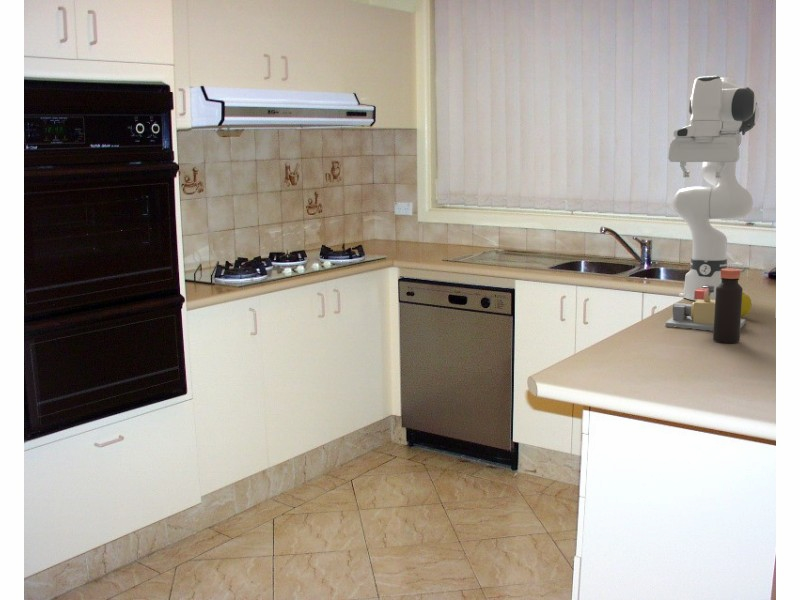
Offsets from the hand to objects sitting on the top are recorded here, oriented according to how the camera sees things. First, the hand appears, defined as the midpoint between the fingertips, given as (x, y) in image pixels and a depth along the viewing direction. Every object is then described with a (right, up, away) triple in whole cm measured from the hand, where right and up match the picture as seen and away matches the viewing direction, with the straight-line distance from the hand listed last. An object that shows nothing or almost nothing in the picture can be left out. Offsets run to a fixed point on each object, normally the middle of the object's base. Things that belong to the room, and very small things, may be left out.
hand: (702, 177), depth 254 cm
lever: (-2, -36, -8) cm, 37 cm away
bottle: (-1, -49, -22) cm, 53 cm away
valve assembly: (+1, -45, -1) cm, 45 cm away
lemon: (+15, -43, +8) cm, 46 cm away
